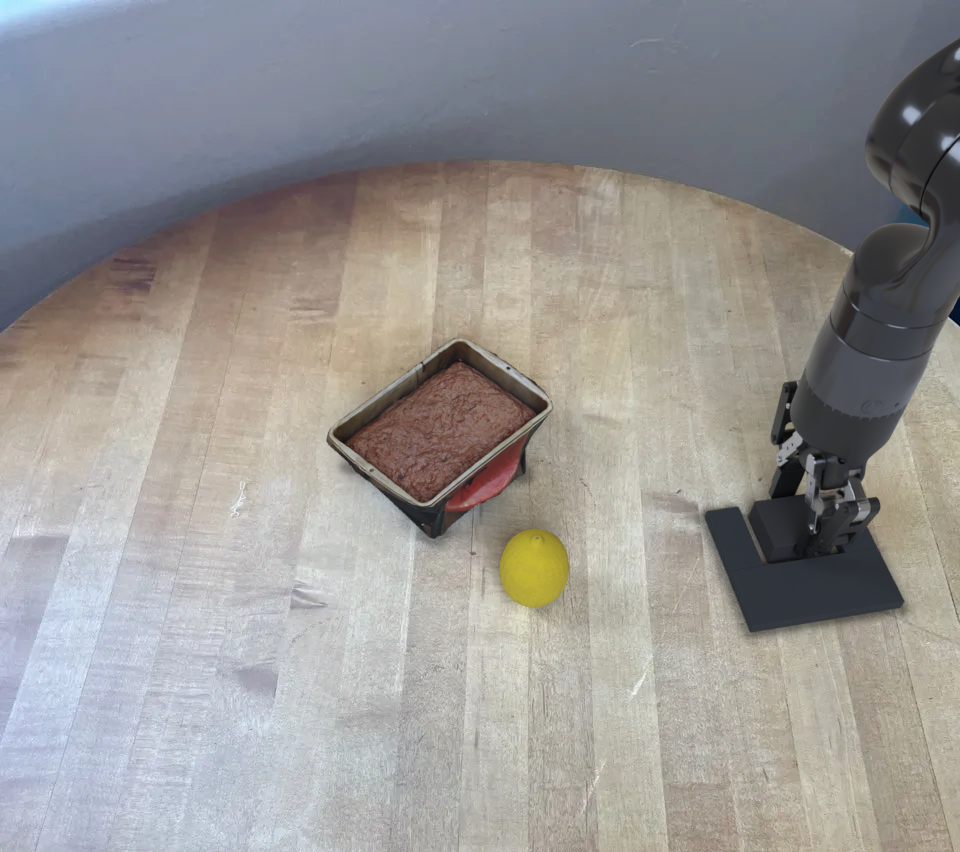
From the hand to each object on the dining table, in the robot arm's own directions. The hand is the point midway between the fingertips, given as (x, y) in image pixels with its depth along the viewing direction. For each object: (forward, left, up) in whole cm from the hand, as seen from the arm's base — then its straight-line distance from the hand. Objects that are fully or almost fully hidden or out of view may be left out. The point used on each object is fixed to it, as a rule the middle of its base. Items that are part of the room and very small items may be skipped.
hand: (793, 523), depth 84 cm
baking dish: (+28, -13, -2) cm, 31 cm away
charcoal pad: (0, +3, -2) cm, 4 cm away
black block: (0, 0, -2) cm, 2 cm away
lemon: (+23, +2, -2) cm, 23 cm away
